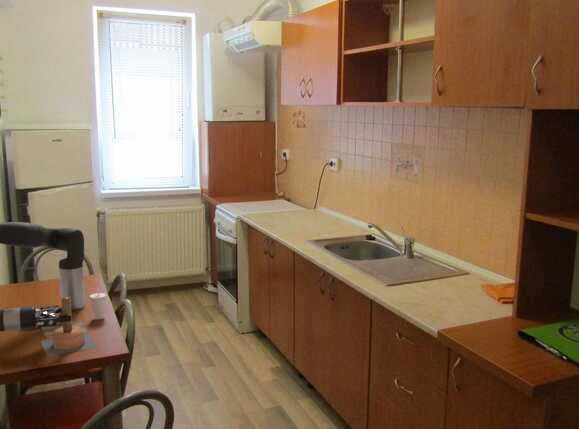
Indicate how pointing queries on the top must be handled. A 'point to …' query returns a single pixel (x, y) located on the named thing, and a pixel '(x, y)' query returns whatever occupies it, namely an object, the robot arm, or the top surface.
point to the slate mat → (51, 351)
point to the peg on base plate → (67, 330)
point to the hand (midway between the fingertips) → (71, 313)
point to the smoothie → (98, 304)
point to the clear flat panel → (50, 329)
